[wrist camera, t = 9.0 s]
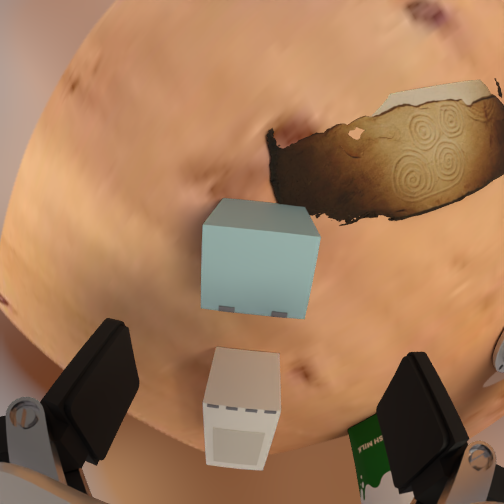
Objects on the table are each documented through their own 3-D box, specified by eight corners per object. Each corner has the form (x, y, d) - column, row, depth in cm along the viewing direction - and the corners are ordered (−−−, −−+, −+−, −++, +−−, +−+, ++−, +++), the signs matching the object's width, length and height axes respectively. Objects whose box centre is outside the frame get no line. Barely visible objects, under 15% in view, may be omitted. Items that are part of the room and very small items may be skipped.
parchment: (498, 78, 15) (503, 77, 14) (520, 175, 18) (525, 176, 17) (252, 132, 20) (251, 132, 19) (297, 252, 23) (297, 257, 22)
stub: (304, 206, 21) (321, 237, 14) (295, 268, 23) (304, 320, 16) (223, 197, 21) (202, 225, 14) (219, 260, 23) (200, 309, 16)
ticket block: (279, 353, 26) (281, 411, 20) (264, 422, 31) (262, 471, 24) (216, 346, 26) (202, 403, 20) (214, 417, 31) (206, 465, 24)
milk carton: (368, 446, 33) (388, 558, 14) (337, 429, 31) (355, 565, 12) (419, 418, 30) (456, 531, 12) (395, 396, 28) (439, 537, 10)
